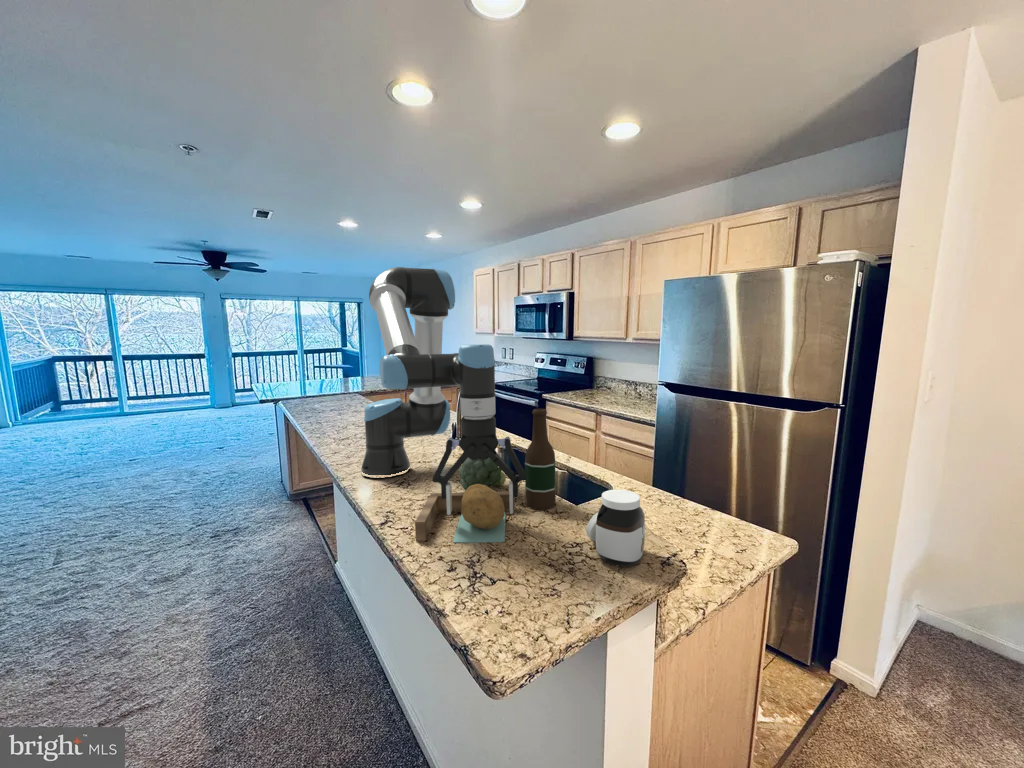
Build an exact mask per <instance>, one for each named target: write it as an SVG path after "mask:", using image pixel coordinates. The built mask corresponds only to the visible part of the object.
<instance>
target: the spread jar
mask: <svg viewBox="0 0 1024 768" xmlns="http://www.w3.org/2000/svg"><path fill="white" fill-rule="evenodd" d="M645 518H646V517H645V512H644V510H643V508H642V506H641V496H640V495H639V494H638V493H636V492H634V491H630V490H627V489H609V490H606V491H603V492H602V493H601V505H600V508H599V509H598V511H597V512H596V513H595V514H594V515H593V516H592V517H591V518H590V520H589V521H588V522H587V525H586V530H585V533H586V535H587V536H588V537H589V538H590V540H591V541H592V542H595V549H596V553H597V555H598V556H599V557H600V558H601V559H602V560H604V562H607V563H609V564H610V565H612V566H616V565H618V566H617V567H623V566H627V567H633V566H636V565H637V564H639V563H640V562H641V560H642V558H643V555H644V549H645V544H646V543H645V540H646V539H645V538H646V535H645V533H646V532H645V531H646V528H645V527H646V524H645V523H646V519H645Z"/></svg>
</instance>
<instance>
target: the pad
mask: <svg viewBox="0 0 1024 768" xmlns="http://www.w3.org/2000/svg"><path fill="white" fill-rule="evenodd" d="M504 512H505V516H504V517H503V519H502V520H501V522H500V523H499V525H498V526H496V527H493V528H491V529H483V528H477V527H475V526H473V525H472V524H470V523H468V522H467V521H465V520H464V517H463V515H462V513H460V515H459V519H458V524H457V526H456V529H455V532H454V536H453V539H452V543H453V544H466V543H467V544H468V543H473V544H474V543H504V542H505V538H506V537H505V535H506V514H507V513H506V512H507V511H504Z"/></svg>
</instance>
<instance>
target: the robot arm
mask: <svg viewBox="0 0 1024 768" xmlns="http://www.w3.org/2000/svg"><path fill="white" fill-rule="evenodd" d="M455 290H456V289H455V285H454V281H453V277H452V276H451V274H450V272H448V271H446V270H444V269H443V270H442V269H437V268H422V267H421V268H420V267H404V266H403V267H402V266H396V267H390V268H388V269H386V270H384V271H382V272H380V274H378V275H377V276H376V277H375V279H374V280H373V281H372V283H371V285H370V288H369V290H368V291H369V292H368V298H369V299H368V300H369V304H370V306H371V308H372V310H373V311H374V312H375V313H376V317H377V322H378V326H379V329H380V334H381V339H382V343H383V348H384V351H385V355H382V356H381V357H380V360H379V376H380V382H381V385H382V387H383V388H384V389H387V390H401V391H402V390H408V389H413V391H412V392H411V393H410V395H409V397H408V401H406V402H403V400H402V398H400V397H399V398H398V397H395V398H387V399H386V398H385V399H381V400H377V401H374V402H371V403H368V404H366V406H365V407H364V418H363V421H364V429H365V432H364V433H365V454H364V457H363V460H362V465H361V468H360V471H362V472H363V473H365V474H368V475H391V474H396V473H399V472H402V471H405V470H407V469H408V468H409V467H410V468H411V462H410V459H409V457H408V454H407V452H406V449H405V446H404V444H405V443H404V441H405V440H404V439H408V438H417V437H427V436H435V435H441V434H444V433H445V432H446V431H447V430H448V428H449V426H450V425H449V424H450V420H451V406H450V402H449V401H448V400H447V399H446V397H445V395H444V394H443V393H442V392H441V391H442V390H441V389H442V387H444V388H445V387H459V398H460V399H459V404H460V405H459V406H460V407H459V408H460V409H459V411H460V415H461V419H460V439H454V438H453V437H449V438H448V439H447V441H446V443H445V451H444V454H443V455H442V457H441V459H440V462H439V463H438V465H437V468H436V470H435V472H434V474H433V475H432V476H433V477H432V478H431V480H432V482H433V483H439V485H440V487H441V489H440V490H441V491H440V493H441V495H442V499H446V501H447V512H446V515H447V516H451V515H452V513H453V512H452V493H453V491H452V488H453V487H452V481H450V480H451V478H452V477H453V476H454V474H456V472H457V471H459V470H460V468H461V466H462V464H463V463H464V462H465V460H466V459H467V458H470V459H472V460H477V459H481V460H486V459H488V458H490V459H491V460H492V461H493V462H495V463H496V465H497V466H498V467H499V468H500V469H501V470H502V472H503V473H504V474H505V476H506V478H508V479H509V480H508V492H509V500H510V511H509V514H510V515H514V511H513V497H515V498H518V497H519V483H520V482H522V481H523V482H525V480H526V473H525V468H523V466H522V464H521V462H520V460H519V459H518V456H517V455H516V453H515V451H514V449H513V447H512V444H511V443H512V442H511V437H510V436H505V437H504V438H499V439H498V437H497V424H496V423H497V422H496V421H497V418H496V417H495V415H496V411H497V410H496V383H495V379H496V376H495V374H496V372H495V371H496V369H495V366H496V359H495V352H494V347H493V346H492V345H491V344H462V345H460V346H459V348H458V352H454V353H443V331H444V330H443V329H444V324H443V323H444V320H445V319H446V318H447V317H448V316H449V311H450V310H452V309H454V308H455V303H456V291H455ZM406 309H409V314H410V316H411V317H412V318H413V319H414V331H413V328H412V325H411V321H410V318H409V316H408V312H407V310H406ZM458 446H459V448H460V449H461V450H462V451H463V452H462V453H461V455H460V456H459V457H458V459H457V460H456V461H455V462H454V463H453V464H452V465H451V467H449V469H448V470H447V472H446V473H445V474H444V475H442V473H443V471H444V469H445V467H446V465H447V462H448V460H449V458H450V456H451V454H452V452H453V451H454V450H456V449H457V447H458ZM498 446H500V447H501V448H502V449H503V450H504V449H505V451H506V454H507V455H508V458H509V459H510V462H511V463H512V465H513V467H514V469H515V471H516V473H517V474H516V473H515V472H514V471H513V470H512V468H511V467H510V466H509V465H508V464H507V463H506V461H505V460H504V459H503V458H502V457H501V456H500V455H499V453H498V452H497V451H496V449H497V447H498ZM362 472H361V473H362Z"/></svg>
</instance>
